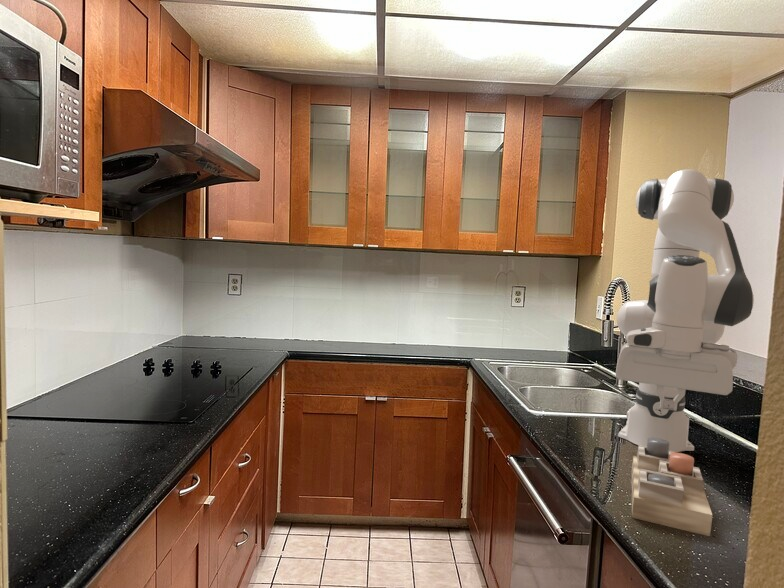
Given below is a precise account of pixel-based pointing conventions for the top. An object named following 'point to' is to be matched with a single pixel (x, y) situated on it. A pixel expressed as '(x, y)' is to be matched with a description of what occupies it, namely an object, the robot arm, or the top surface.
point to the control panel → (669, 495)
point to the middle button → (681, 463)
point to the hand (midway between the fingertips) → (667, 409)
